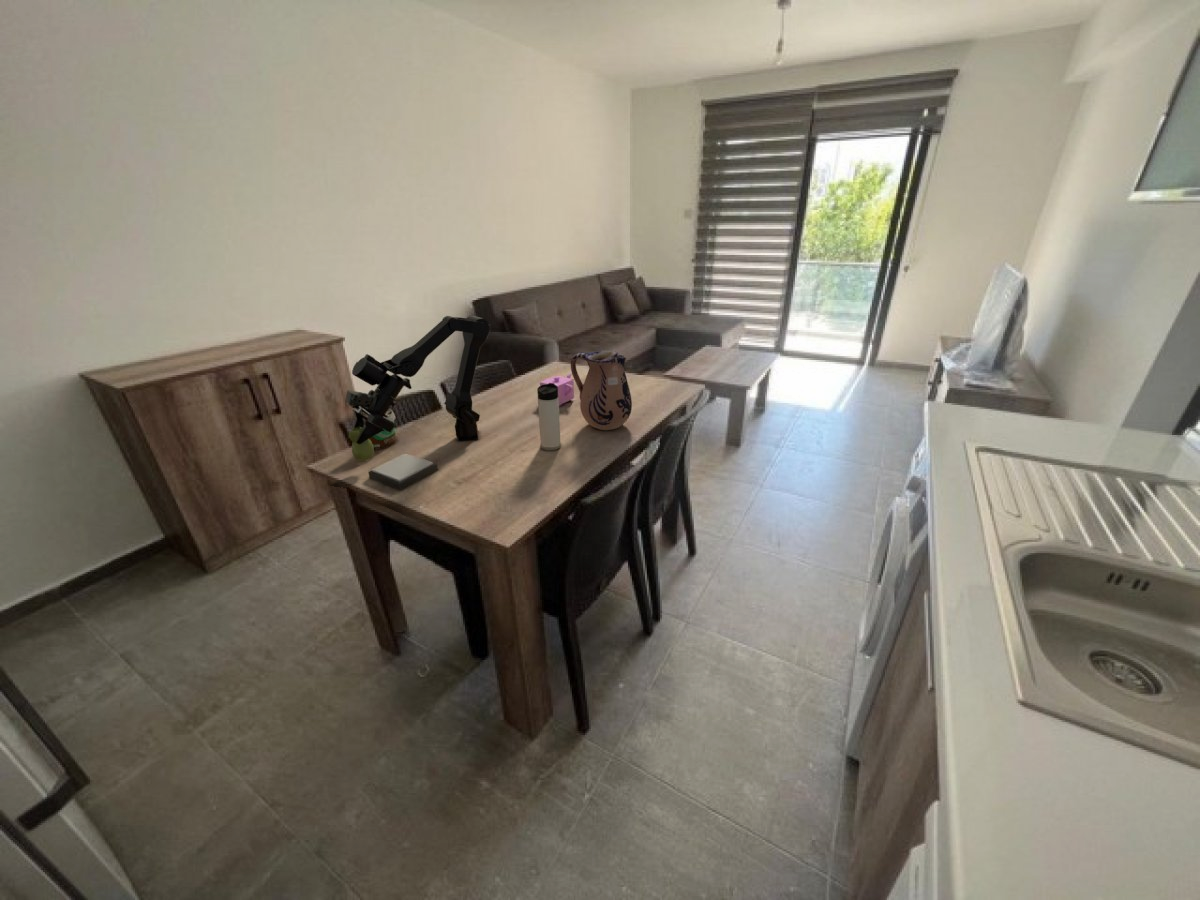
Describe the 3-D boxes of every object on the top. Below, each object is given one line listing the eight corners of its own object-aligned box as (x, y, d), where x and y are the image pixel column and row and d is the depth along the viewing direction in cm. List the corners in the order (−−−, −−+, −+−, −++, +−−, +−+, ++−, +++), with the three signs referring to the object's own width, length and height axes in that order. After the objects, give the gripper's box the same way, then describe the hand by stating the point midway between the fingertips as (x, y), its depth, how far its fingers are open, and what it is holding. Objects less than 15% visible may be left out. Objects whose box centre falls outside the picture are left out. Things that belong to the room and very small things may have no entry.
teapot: (559, 391, 198) (558, 367, 193) (587, 397, 191) (587, 373, 186) (531, 405, 184) (529, 379, 179) (560, 412, 177) (559, 386, 173)
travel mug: (564, 443, 154) (561, 383, 145) (555, 452, 148) (552, 390, 139) (546, 440, 156) (542, 381, 147) (537, 449, 150) (533, 388, 141)
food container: (385, 452, 148) (378, 423, 144) (368, 451, 149) (360, 421, 145) (407, 436, 159) (402, 408, 154) (391, 434, 160) (384, 407, 156)
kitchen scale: (407, 459, 144) (405, 451, 143) (437, 469, 138) (436, 461, 137) (369, 478, 134) (367, 470, 133) (400, 490, 128) (398, 481, 127)
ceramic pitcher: (628, 437, 157) (629, 363, 146) (565, 433, 161) (562, 360, 149) (633, 417, 173) (635, 348, 161) (577, 413, 176) (575, 346, 165)
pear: (379, 455, 139) (371, 424, 135) (369, 464, 135) (360, 432, 130) (361, 455, 140) (352, 424, 136) (351, 463, 135) (341, 431, 131)
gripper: (348, 371, 135) (317, 418, 134) (372, 387, 123) (338, 438, 121) (382, 391, 144) (353, 435, 142) (408, 407, 131) (376, 456, 130)
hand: (354, 440), depth 134 cm, fingers closed on pear, 4 cm apart
